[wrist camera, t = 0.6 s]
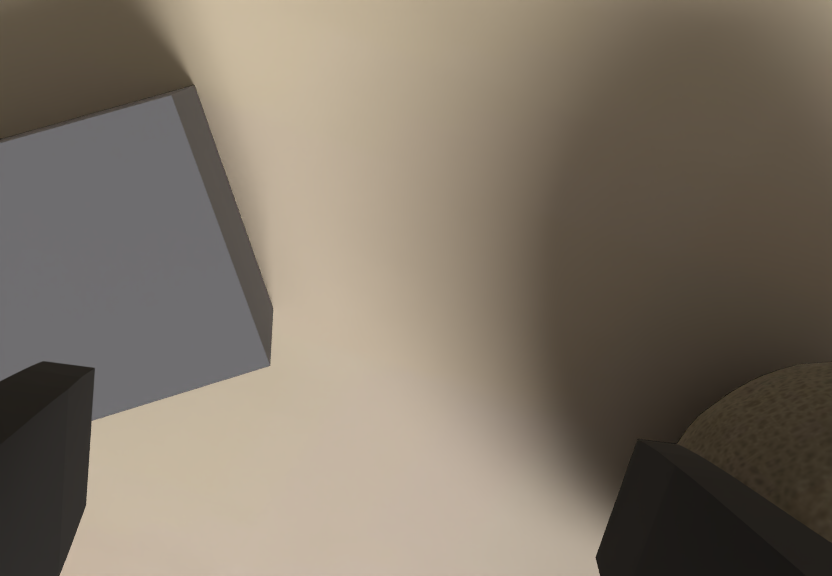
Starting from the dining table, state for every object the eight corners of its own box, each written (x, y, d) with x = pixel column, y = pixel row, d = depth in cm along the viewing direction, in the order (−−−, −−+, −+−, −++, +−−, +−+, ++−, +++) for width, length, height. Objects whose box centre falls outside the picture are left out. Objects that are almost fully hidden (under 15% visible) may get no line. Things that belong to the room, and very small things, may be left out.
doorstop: (54, 372, 20) (-1, 449, 16) (-51, 153, 18) (-141, 182, 14) (273, 306, 20) (270, 365, 17) (195, 84, 18) (171, 95, 15)
